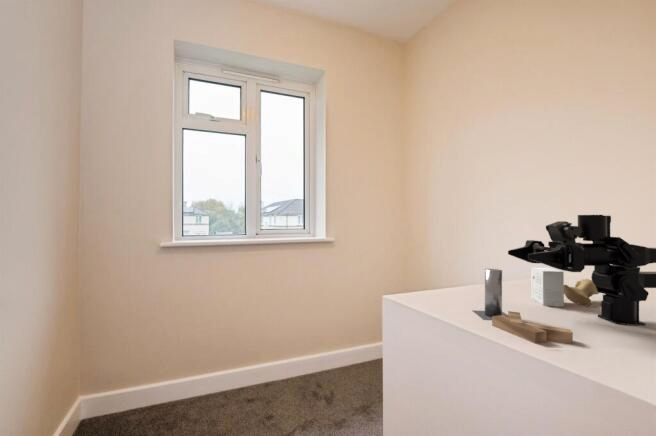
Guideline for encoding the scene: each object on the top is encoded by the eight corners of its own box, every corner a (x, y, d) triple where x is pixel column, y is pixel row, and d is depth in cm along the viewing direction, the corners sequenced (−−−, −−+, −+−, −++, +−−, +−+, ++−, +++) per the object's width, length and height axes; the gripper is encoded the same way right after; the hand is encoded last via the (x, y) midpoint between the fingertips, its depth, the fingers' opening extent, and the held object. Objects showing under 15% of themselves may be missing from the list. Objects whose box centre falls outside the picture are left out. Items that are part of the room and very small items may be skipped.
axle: (497, 313, 83) (497, 268, 83) (504, 318, 79) (505, 271, 79) (482, 312, 83) (482, 268, 83) (488, 317, 79) (489, 271, 79)
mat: (501, 312, 85) (501, 311, 85) (517, 322, 77) (517, 320, 77) (471, 311, 85) (471, 310, 85) (483, 320, 77) (483, 319, 77)
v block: (513, 320, 78) (513, 310, 78) (578, 344, 63) (578, 332, 63) (484, 323, 75) (484, 313, 75) (545, 349, 60) (545, 336, 60)
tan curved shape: (559, 283, 96) (579, 269, 101) (555, 301, 99) (575, 287, 103) (590, 296, 89) (610, 281, 94) (585, 315, 92) (605, 300, 97)
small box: (564, 307, 90) (564, 271, 90) (542, 306, 91) (543, 270, 91) (550, 300, 98) (550, 267, 98) (530, 299, 99) (530, 266, 99)
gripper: (555, 222, 88) (499, 223, 89) (611, 223, 70) (540, 223, 70) (555, 261, 88) (499, 261, 89) (612, 272, 69) (540, 272, 70)
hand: (517, 254), depth 80 cm, fingers open, 9 cm apart
